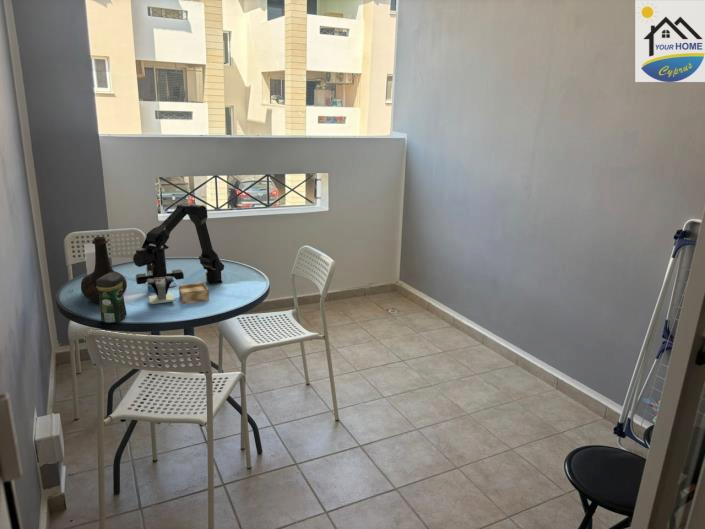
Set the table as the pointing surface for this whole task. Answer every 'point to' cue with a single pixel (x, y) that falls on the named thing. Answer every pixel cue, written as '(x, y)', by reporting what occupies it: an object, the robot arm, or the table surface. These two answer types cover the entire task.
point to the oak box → (193, 293)
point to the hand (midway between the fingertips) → (161, 295)
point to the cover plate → (161, 295)
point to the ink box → (157, 281)
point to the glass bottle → (99, 271)
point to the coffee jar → (111, 298)
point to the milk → (90, 257)
